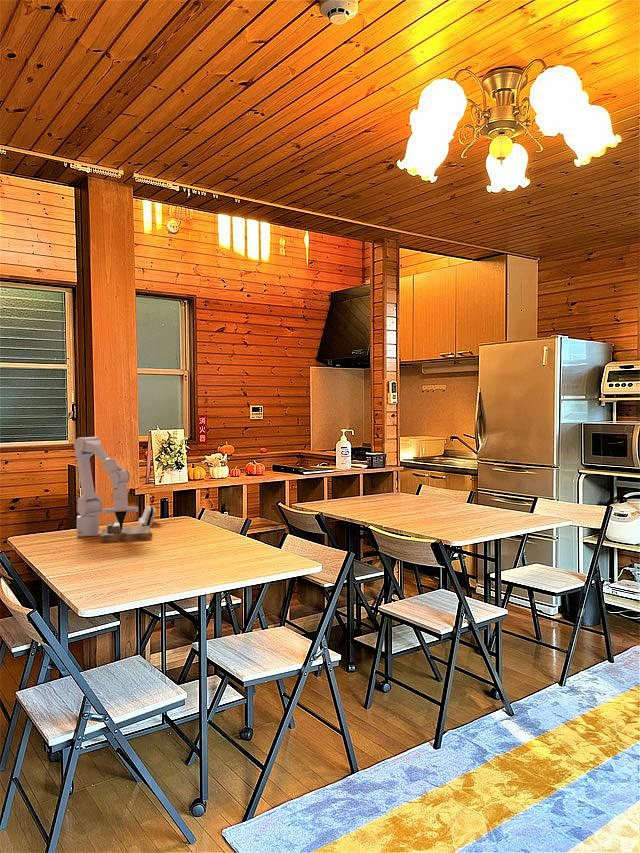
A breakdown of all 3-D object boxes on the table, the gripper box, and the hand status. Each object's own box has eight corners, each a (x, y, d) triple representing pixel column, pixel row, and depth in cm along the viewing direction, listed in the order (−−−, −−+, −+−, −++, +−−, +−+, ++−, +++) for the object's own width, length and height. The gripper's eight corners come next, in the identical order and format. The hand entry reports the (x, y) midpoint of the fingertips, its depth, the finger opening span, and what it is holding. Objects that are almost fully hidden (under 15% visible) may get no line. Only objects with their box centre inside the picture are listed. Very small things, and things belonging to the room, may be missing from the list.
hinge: (137, 521, 330) (144, 502, 331) (147, 524, 332) (153, 505, 332) (140, 527, 314) (147, 507, 315) (150, 529, 316) (157, 509, 317)
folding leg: (113, 527, 296) (113, 521, 296) (121, 527, 297) (121, 520, 297) (112, 533, 283) (112, 526, 283) (120, 533, 284) (120, 525, 284)
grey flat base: (100, 542, 279) (100, 528, 279) (104, 534, 297) (103, 521, 297) (149, 539, 284) (149, 526, 284) (150, 532, 301) (149, 519, 301)
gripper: (102, 499, 280) (103, 531, 280) (137, 498, 283) (138, 529, 284) (103, 497, 287) (104, 528, 287) (138, 496, 290) (138, 526, 291)
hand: (121, 528), depth 286 cm, fingers closed
